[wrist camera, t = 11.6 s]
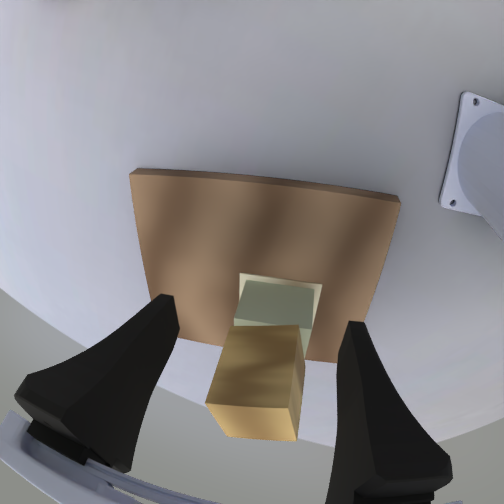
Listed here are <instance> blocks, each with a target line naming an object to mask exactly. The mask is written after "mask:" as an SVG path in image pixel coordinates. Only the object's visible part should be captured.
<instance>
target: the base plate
mask: <svg viewBox="0 0 504 504" xmlns="http://www.w3.org/2000/svg"><path fill="white" fill-rule="evenodd" d="M129 178H130V186H131V193H132V200H133V207H134V214H135V220H136V226H137V232H138V238H139V244H140V249H141V255H142V260H143V265H144V270H145V275H146V280H147V284H148V289H149V293H150V298H151V301H152V300H153V299H154V298H156V297H157V296H158V295H159V294H161V293H162V294H167V295H173V296H174V300H175V306H176V311H177V316H178V321H179V326H180V330H179V334H178V338H182V339H187V340H192V341H196V342H201V343H206V344H211V345H216V346H222V347H224V344H225V341H226V338H227V335H228V331H229V328H230V326H234V316H235V313H236V310H237V307H238V304H239V301H240V298H241V295H242V291H243V288H244V285H245V282H246V280H252V281H259V282H266V283H273V284H280V285H287V286H295V287H302V288H309V289H314V306H313V322H312V332H311V336H310V340H309V343H308V347H307V351H306V355H305V359H304V360H312V361H321V362H330V363H337V361H338V351H339V349H340V346H341V343H342V340H343V337H344V334H345V331H346V328H347V325H348V321H349V320H350V321H360V322H364V320H365V317H366V314H367V312H368V309H369V306H370V303H371V301H372V298H373V295H374V292H375V289H376V286H377V283H378V281H379V278H380V275H381V271H382V268H383V265H384V262H385V259H386V256H387V252H388V249H389V246H390V242H391V239H392V236H393V232H394V229H395V225H396V221H397V218H398V214H399V210H400V206H401V202H400V200H399V198H398V197H397V196H396V195H390V194H384V193H379V192H373V191H367V190H361V189H354V188H348V187H341V186H334V185H327V184H320V183H312V182H304V181H296V180H288V179H279V178H270V177H260V176H250V175H239V174H228V173H215V172H201V171H185V170H166V169H140V168H137V169H136V170H134V171H133V172H131V173H130V174H129Z"/></svg>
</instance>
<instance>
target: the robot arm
mask: <svg viewBox="0 0 504 504" xmlns="http://www.w3.org/2000/svg"><path fill="white" fill-rule="evenodd" d="M474 98H476V100H477V103H476V105H474V104H473V99H474ZM451 200H455V201H454V203H453V204H450V202H451ZM439 202H440V204H441V206H442V207H443V208H446V209H451V210H455V211H460V212H464V213H469V214H473V215H477V216H481V217H483V218H484V219H485V220H486V221H487V223H488V224H489V225H490V226H491V227H492V229H493V230H494V231H495V232H496V234H497V235H498V236H499V237H500V239H501V240H502V241H503V242H504V106H503V105H501V104H499V103H496V102H494V101H492V100H489V99H487V98H484V97H482V96H479V95H476V94H474V93H471V92H463V94H462V95H461V100H460V107H459V113H458V119H457V125H456V130H455V135H454V140H453V145H452V150H451V154H450V159H449V163H448V167H447V171H446V175H445V179H444V183H443V187H442V191H441V194H440V198H439ZM179 330H180V326H179V321H178V316H177V311H176V306H175V300H174V296H173V295H167V294H162V293H161V294H159V295H158V296H157V297H156V298H154V299H153V300H152V301H151V302H150V303H148V304H147V305H146V306H145V307H144V308H143V309H141V310H140V311H139V312H138V313H137V314H136V315H134V316H133V317H132V318H131V319H129V320H128V321H127V322H126V323H125V324H123V325H122V326H121V327H120V328H118V329H117V330H116V331H114V332H113V333H112V334H110V335H109V336H108V337H106V338H105V339H103V340H102V341H100V342H99V343H97V344H95V345H94V346H92V347H91V348H89V349H87V350H86V351H84V352H82V353H80V354H78V355H76V356H74V357H72V358H70V359H68V360H66V361H64V362H62V363H59V364H57V365H54V366H52V367H49V368H47V369H44V370H41V371H38V372H35V373H31V374H28V375H27V376H26V378H25V379H24V381H23V382H22V384H21V385H20V387H19V388H18V390H17V391H16V393H15V395H14V397H15V400H16V401H17V402H18V403H19V405H20V406H21V407H22V408H23V409H24V410H25V411H26V412H27V413H28V414H29V415H30V416H31V417H32V418H33V421H32V423H30V422H28V421H27V420H26V419H24V418H23V417H21V416H20V415H18V414H17V413H15V412H14V411H12V410H9V412H8V414H7V415H6V417H5V418H4V420H3V422H2V423H1V425H0V459H1V460H2V461H3V462H4V463H6V464H7V465H8V466H9V467H10V468H12V469H13V470H14V471H15V472H17V473H18V474H19V475H21V476H22V477H23V478H24V479H26V480H27V481H28V482H30V483H31V484H32V485H34V486H35V487H36V488H38V489H39V490H41V491H42V492H44V493H45V494H46V495H48V496H49V497H51V498H52V499H54V500H55V501H57V502H58V503H60V504H142V503H140V502H138V501H137V500H135V499H134V498H133V497H130V496H128V495H126V494H124V493H121V492H119V491H117V490H115V489H114V487H113V486H115V487H117V488H119V489H122V490H124V491H127V492H129V493H132V494H134V495H137V496H139V497H142V498H145V499H148V500H150V501H153V502H156V503H159V504H221V503H216V502H212V501H208V500H204V499H200V498H196V497H192V496H188V495H185V494H181V493H178V492H174V491H171V490H168V489H165V488H162V487H159V486H156V485H153V484H150V483H147V482H144V481H142V480H139V479H136V478H134V477H131V476H129V475H126V474H124V473H127V472H129V471H131V466H132V461H133V456H134V452H135V447H136V443H137V439H138V435H139V432H140V428H141V424H142V421H143V418H144V415H145V411H146V409H147V405H148V403H149V400H150V397H151V395H152V392H153V390H154V388H155V386H156V384H157V382H158V379H159V377H160V375H161V373H162V371H163V369H164V367H165V365H166V363H167V361H168V359H169V357H170V355H171V353H172V351H173V348H174V345H175V343H176V340H177V337H178V334H179ZM336 377H337V436H336V445H335V453H334V460H333V466H332V473H331V478H330V483H329V489H328V493H327V498H326V502H325V504H431V501H432V500H434V491H436V490H438V489H440V488H442V487H443V486H445V485H447V484H448V483H450V481H451V480H452V479H453V475H452V464H451V460H450V456H449V455H448V454H447V453H446V452H445V451H444V450H443V449H442V448H441V447H440V446H439V445H438V444H437V443H436V442H435V441H434V440H433V439H432V438H431V437H430V436H429V435H428V434H427V432H426V431H425V430H424V429H423V428H422V426H421V425H420V424H419V422H418V421H417V420H416V419H415V417H414V416H413V415H412V413H411V412H410V411H409V409H408V408H407V406H406V405H405V403H404V402H403V400H402V399H401V397H400V396H399V394H398V392H397V391H396V389H395V387H394V385H393V384H392V382H391V380H390V378H389V376H388V374H387V372H386V370H385V369H384V366H383V364H382V362H381V360H380V358H379V356H378V354H377V352H376V349H375V347H374V345H373V342H372V340H371V338H370V335H369V333H368V330H367V328H366V325H365V323H364V322H360V321H350V320H349V321H348V325H347V328H346V331H345V334H344V337H343V340H342V343H341V346H340V349H339V351H338V361H337V374H336ZM446 504H463V503H462V501H456V502H451V503H446Z"/></svg>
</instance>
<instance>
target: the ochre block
mask: <svg viewBox="0 0 504 504" xmlns="http://www.w3.org/2000/svg"><path fill="white" fill-rule="evenodd" d="M304 377H305V361H304V354H303V348H302V341H301V335H300V329H299V325H271V326H230V328H229V331H228V335H227V338H226V341H225V344H224V347H223V350H222V353H221V356H220V359H219V362H218V365H217V368H216V371H215V374H214V377H213V380H212V383H211V386H210V389H209V392H208V395H207V398H206V401H205V404H206V406H207V407H208V409H209V410H210V412H211V413H212V415H213V416H214V418H215V419H216V421H217V422H218V423H219V425H220V427H221V428H222V429H223V431H224V432H225V434H226V435H227V436H229V437H237V438H248V439H260V440H261V439H262V440H277V441H297V436H298V429H299V421H300V413H301V404H302V395H303V386H304Z"/></svg>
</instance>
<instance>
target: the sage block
mask: <svg viewBox="0 0 504 504" xmlns="http://www.w3.org/2000/svg"><path fill="white" fill-rule="evenodd" d="M313 306H314V289H309V288H302V287H295V286H287V285H280V284H273V283H266V282H259V281H252V280H246V282H245V285H244V288H243V291H242V295H241V298H240V301H239V304H238V307H237V310H236V313H235V316H234V326H271V325H299V329H300V335H301V341H302V348H303V354H304V359H305V355H306V351H307V347H308V343H309V340H310V336H311V332H312V322H313Z"/></svg>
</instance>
